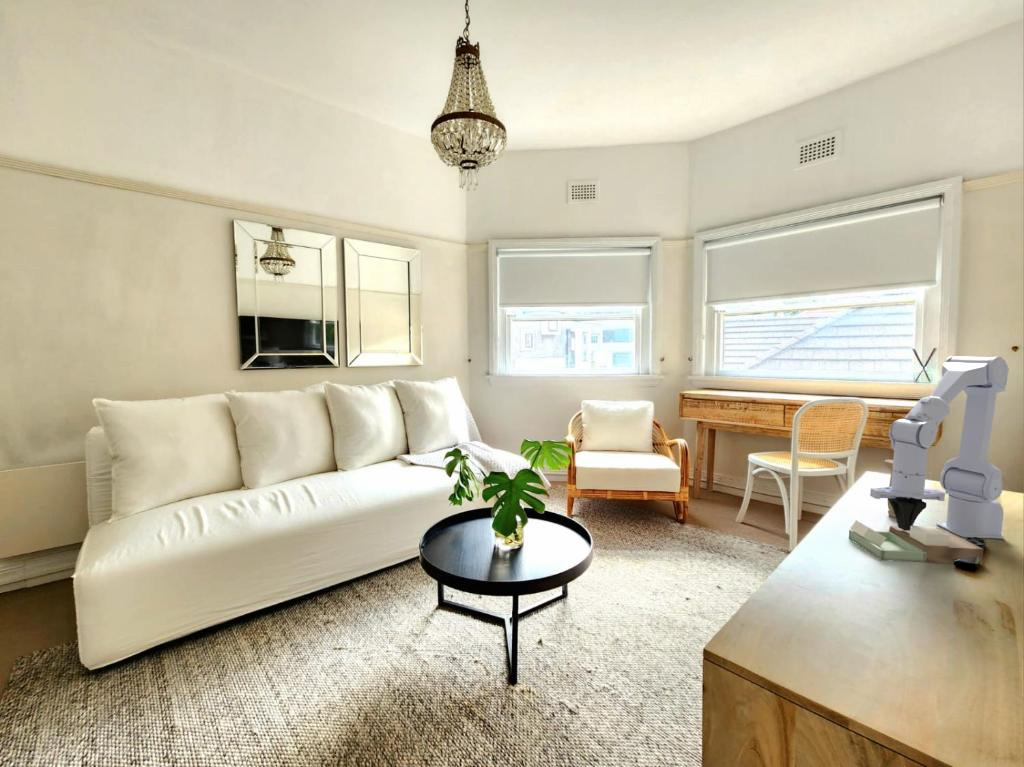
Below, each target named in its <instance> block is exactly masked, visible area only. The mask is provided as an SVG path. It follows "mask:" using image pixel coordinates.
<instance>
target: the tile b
mask: <svg viewBox="0 0 1024 767" xmlns="http://www.w3.org/2000/svg"><path fill="white" fill-rule="evenodd" d="M936 528H937V527H934V526H929V525H928V526H927V525H913V526H910V537H912V538H914V539H915V540H917V541H919V542H921V543H923V544H924V545H933V546H948V545H949V535H948V534H946V533H944V532H942V531H940V530H938V529H936Z"/></svg>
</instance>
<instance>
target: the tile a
mask: <svg viewBox="0 0 1024 767" xmlns="http://www.w3.org/2000/svg"><path fill="white" fill-rule="evenodd" d="M849 530H853V531H854V532H856V533H857V534H859V535H861V536H862V537H864V538H866V539H867V540H869V541H871V542H872V543H874V544H876V545H878V546H879V547H880V546H881V545H882V544H883V542H884V541H885V540H886V537H884V536H882V535H881V534H879V533H877V532H876V531H877V530H874V529H873V528H870V527H868V526H867V525H866V524H863V523H862V522H861V521H858V520H855V521H854V523H853V524H852V525H851V526H850V529H849Z"/></svg>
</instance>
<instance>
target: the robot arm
mask: <svg viewBox="0 0 1024 767" xmlns="http://www.w3.org/2000/svg"><path fill="white" fill-rule="evenodd" d="M1008 375H1009V366H1008V364H1007V362H1006V360H1005V359H1004V358H1003V357H1001V356H989V357H988V356H959V355H958V356H957V355H950V356H948V357H947V358H946V359H945V360H944V362H943V364H942V366H941V379H940V380H939V381H938V383H937V385H936V386H935V387H934V390H933V391H932V392H931V394H930V395H929V396H923V397H922V398H920V399H919V400H918V401H917V403H916V404H915V405H914V406H913V408H911V409H910V411H909V412H908V413H907V414H906V415H905V417H904V418H900V419H898V420H895V421H894V422H892V424H891V425H890V428H889V430H888V437H889V440H890V442H891V443H890V444H891V446H890V448H891V450H893V457H892V458H893V459H892V460H893V471H892V484H891V487H889V486H887V487H886V486H885V487H871V488H870V492H869V494H870V497H872V498H874V499H875V500H881V499H887V502H888V501H889V502H890V504H891V506H892V508H893V510H894V513H895V516H896V518H895V520H896V524H897V526H898V527H899V528H901V529H902V530H905V531H910V526H914V524H915V521H916V520H917V518H918V517H919V515H920V514H921V513H922V512H923V510H925V509H926V508H927V502H926V501H923V500H928V501H929V500H930V501H931V500H933V501H939V502H945V498H946V495H947V494H948V498H947V511H946V520H945V521H946V522H936V526H938V527H940V528H942V529H944V530H946V531H948V532H950V533H952V534H953V533H954V535H956V536H958V537H960V538H962V537H963V538H974V537H977V538H980V539H1005V536H1004V535H1002V532H1003V521H1004V509H1003V507H1002V504H1001V503H1000V502H999V501H998V500H997V499H998V498H1000V497H1001V495H1002V493H1003V487H1004V486H1003V485H1004V484H1003V480H1002V477H1003V475H1002V474H1003V473H1002V470H1001V469H1000V468H999V467H997V466H996V465H994V464H993V463H992V462H990V461H989V460H988V455H989V449H990V444H991V443H990V440H991V435H992V429H993V421H994V414H995V409H996V408H995V407H996V400H997V395H998V393H1002V392H1005V391H1006V388H1007V387H1006V386H1007V382H1008V378H1009V377H1008ZM961 392H964V393H965V394H966V400H965V401H966V402H965V408H964V415H963V423H962V429H961V436H960V443H959V448H958V455H957V456H956V457H954V458H951V459H949V460H947V461H945V463H944V467H943V469H942V471H941V473H940V476H939V483H940V486H941V488H942V489H943V490H945V492H944V491H941V490H938V489H928V488H925V485H926V484H925V483H926V475H927V474H926V473H927V462H928V460H927V459H928V451H929V448H930V447H931V446H932V445H934V442H935V440H936V438H937V433H938V432H939V425H940V424H941V423H942V422H943V421H944V419H945V418H946V417H947V416H948V414H949V413H950V412H951V408H950V406H949V404H950V403H951V402H953V400H954V399H956V397H957V396H958V395H959V394H960V393H961Z"/></svg>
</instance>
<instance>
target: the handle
mask: <svg viewBox="0 0 1024 767" xmlns="http://www.w3.org/2000/svg"><path fill="white" fill-rule="evenodd" d="M883 465H884V467H887V468H888V469H889V470H890V477H889V478H890V479H889V485H888V487H891V484H892V471H893V459H885V460H884V464H883ZM887 507H888V508H887V509H888V510H887V513H888V516H890V517H893V518H895V519H896V516H895V513H894V510H893V508H892V506H891V504H890V502H889V501H888V500H887Z"/></svg>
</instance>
